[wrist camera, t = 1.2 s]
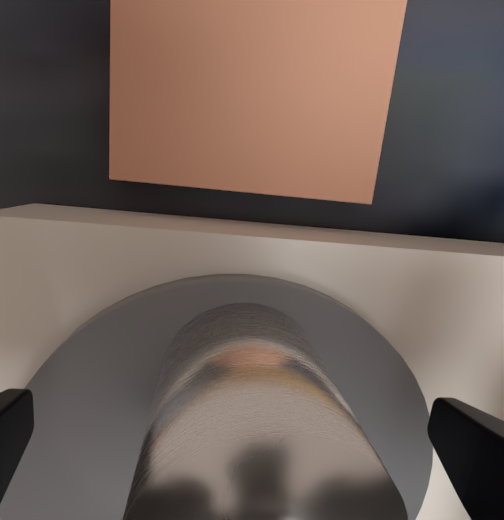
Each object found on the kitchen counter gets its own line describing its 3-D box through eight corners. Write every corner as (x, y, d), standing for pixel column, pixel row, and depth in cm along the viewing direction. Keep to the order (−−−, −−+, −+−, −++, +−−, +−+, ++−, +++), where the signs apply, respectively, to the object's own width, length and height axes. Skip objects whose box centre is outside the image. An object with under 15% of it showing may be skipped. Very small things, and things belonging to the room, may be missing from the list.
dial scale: (447, 539, 17) (670, 884, 9) (48, 554, 14) (-161, 1043, 6) (530, 245, 13) (1009, 355, 5) (34, 202, 11) (-425, 284, 3)
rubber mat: (358, 201, 12) (371, 204, 11) (118, 178, 11) (108, 179, 10) (404, -73, 10) (424, -97, 10) (122, -131, 9) (111, -165, 8)
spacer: (305, 443, 10) (380, 656, 6) (157, 442, 9) (110, 678, 5) (327, 307, 9) (437, 434, 5) (164, 298, 8) (114, 432, 4)
